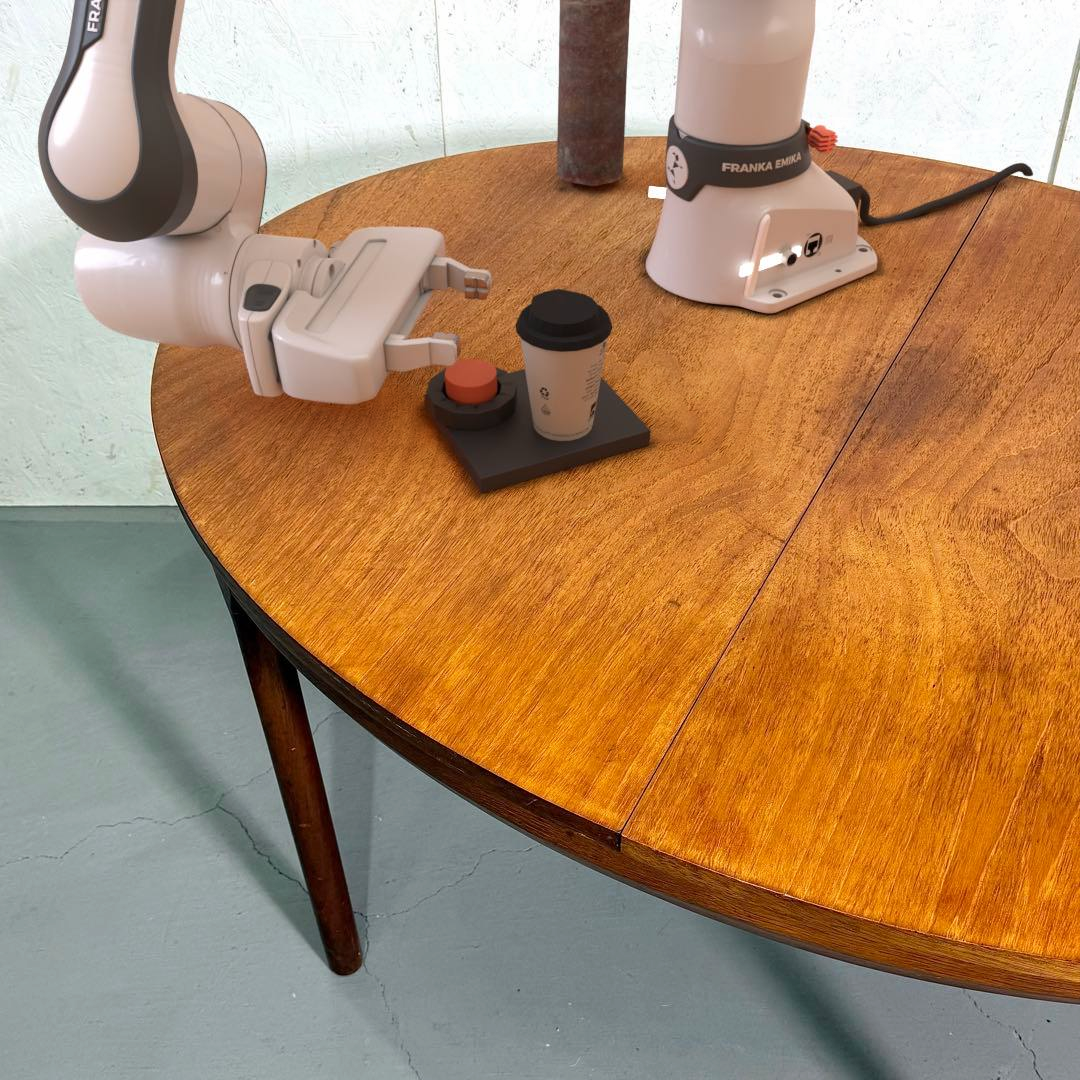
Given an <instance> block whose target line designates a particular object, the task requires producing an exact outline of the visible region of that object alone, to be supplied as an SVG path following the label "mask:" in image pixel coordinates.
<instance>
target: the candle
mask: <svg viewBox="0 0 1080 1080" xmlns="http://www.w3.org/2000/svg"><path fill="white" fill-rule="evenodd" d="M630 16H631V0H559V17H558V18H559V26H558V27H559V29H558V30H559V31H558V87H557V88H558V90H557V91H558V93H557V97H558V98H557V138H556V139H557V140H556V170H557V172H556V173H557V175H558V177H559V179H560V180H561V181H562V182H564V183H566V184H575V185H577V184H578V185H582V186H583V185H584V186H590V187H594V186H601V185H607V184H613V183H614V182H616V181H618V182H619V181H621V179H622V177H623V173H624V154H625V153H624V152H625V131H626V108H627V107H626V105H627V82H628V81H627V79H628V61H629V60H628V59H629V41H630Z"/></svg>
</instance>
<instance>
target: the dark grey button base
mask: <svg viewBox="0 0 1080 1080" xmlns="http://www.w3.org/2000/svg"><path fill="white" fill-rule="evenodd" d="M494 367H495V368H496V371H497V394H496V396H495V397H494V398H493V399H492V400H490V401H487V402H484V403H480V404H476V405H470V404H459V403H456V402H454V401H451V400H450V399H449V398H448V396H447V394H446V385H445V371H446V369H447V368H448V367H445V368H443V369H442V370H440V372H438V373H436V374H435V375H434V376H432V377H431V378H429V380H428V381H429V382H428V384H427V388H426V390H425V391H426V392H425V394H423V400H424V401H423V402H424V410H425V411H426V412H427V414H428V415H429V417H430V418H431V420H432V421H433V423H434V425H435V426H436V428H437V429H438V431H439V432H440V433H441V435H442V436H443V438H444V439H445V441H446V443H447V444H448V445H449V447H450V449H451V450H452V452H453V453H454V454H455V456H456V457H457V459H458V460H459V462H460V463H461V465H462V466H463V468H464V469H465V471H466V472H467V474H468V476H469V477H470V478H471V480H472V481H473V483H474V484H475V486H476V487H477V490H479V492H480V493H481V494H485V493H488V492H492V491H496V490H499V489H503V488H506V487H509V486H513V485H516V484H521V483H523V482H526V481H529V480H533V479H537V478H540V477H544V476H548V475H551V474H554V473H557V472H562V471H564V470H569V469H572V468H574V467H578V466H582V465H585V464H589V463H592V462H595V461H599V460H602V459H606V458H609V457H612V456H615V455H620V454H622V453H627V452H629V451H633V450H637V449H640V448H644V447H648V446H650V444H651V443H650V442H651V429H650V427H648V426H647V425H646V424H645V423H644V421H642V419H641V418H640V417H639V416H638V415H637V414H636V413H635V412H634V411H633V410H632V409H631V407H630V406H629V405H628V404H627V403H626V402H625V401H624V400H623V399H622V397H620V395H619V394H618V393H617V392H616V391H615V390H614V389H613V388H612V387H611V386H610V385H609V383H608V382H607V381H606V380H605V379H604V378H603V377H602V376H601V380H600V386H599V392H598V398H597V403H596V409H595V415H594V420H593V425H592V428H591V430H590V431H589V432H588V433H587V435H585V436H583V437H581V438H579V439H575V440H571V441H557V440H551V439H548V438H545V437H543V436H542V435H540V434H539V433H537V431H536V430H535V428H534V424H533V418H532V411H531V405H530V398H529V392H528V385H527V379H526V372H525V368H523V369H519V370H515V371H511V372H508V371H507V370H505V369H502V368H499V367H496V366H494Z"/></svg>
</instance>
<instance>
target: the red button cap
mask: <svg viewBox="0 0 1080 1080" xmlns="http://www.w3.org/2000/svg"><path fill="white" fill-rule="evenodd" d="M495 367H496V366H494V364H492V363H491V362H489V361H487V360H484V359H479V358H465V359H461V360H457V361H456V363H455V364H454V365H453V366H447V367H446V368H447V369H446V368H445V369H446V371H445V385H446V394H447V396H448V398H449V399H450V400H451V401H454V402H456V403H459V404H470V405H476V404H480V403H484V402H487V401H490V400H492V399H493V398H494V397H495V396H496V394H497V371H496V368H495Z"/></svg>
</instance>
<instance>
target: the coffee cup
mask: <svg viewBox="0 0 1080 1080" xmlns="http://www.w3.org/2000/svg"><path fill="white" fill-rule="evenodd" d="M514 326H515V332H516V334H517V335H518V336H519V339H520V346H521V351H522V357H523V358H522V359H523V365H524V369H525V372H526V379H527V385H528V392H529V398H530V405H531V411H532V418H533V424H534V428H535V430H536V431H537V433H539V434H540V435H542V436H543V437H545V438H548V439H551V440H557V441H571V440H575V439H579V438H581V437H583V436H585V435H587V433H588V432H589V431H590V430H591V428H592V425H593V420H594V415H595V409H596V403H597V398H598V392H599V386H600V380H601V377H602V374H603V370H604V369H603V368H604V364H605V363H604V362H605V359H606V358H605V357H606V351H607V346H608V340H609V337H610V336H611V334H612V331H613V327H614V326H613V323H612V320H611V316H610V314H609V313H608V311H606V309H605V308H604V307H602V306H601V305H600V304H598V303H597V301H595V299H594V298H592V297H591V296H589V295H587V294H585V293H581V292H576V291H572V290H567V289H560V288H557V289H552V290H551V289H550V290H546V291H542V292H540V293H538V294H536V295H534V296H532V299H531V303H529V304H528V305H527V306H526V307H524V308H523V309H522V310H521V311H520V314H519V316H518V318H517V320H516V322H515V325H514Z"/></svg>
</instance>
